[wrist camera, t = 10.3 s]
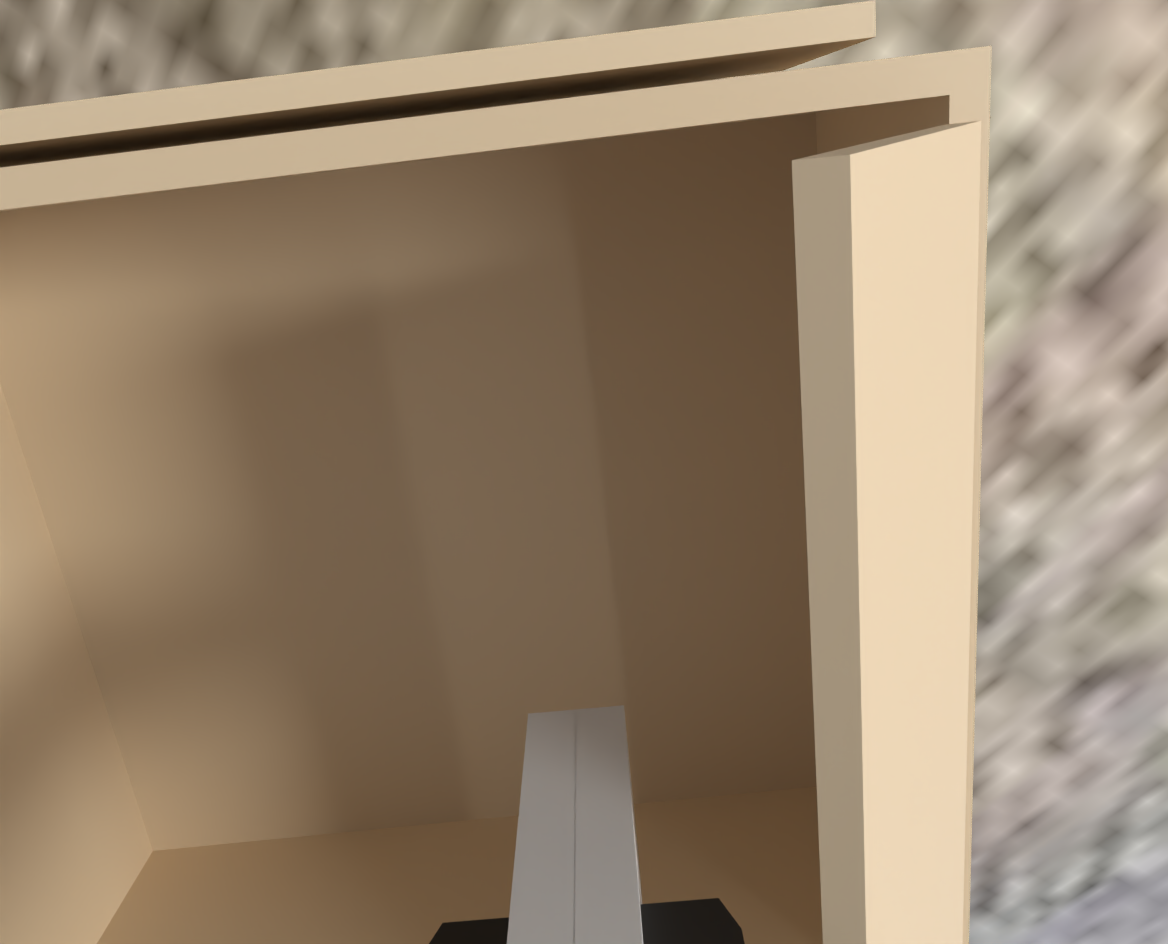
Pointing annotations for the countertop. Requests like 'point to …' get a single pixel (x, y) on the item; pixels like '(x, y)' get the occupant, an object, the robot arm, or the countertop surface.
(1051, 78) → the countertop surface
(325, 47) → the countertop surface
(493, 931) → the robot arm
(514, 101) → the carton
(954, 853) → the flap
